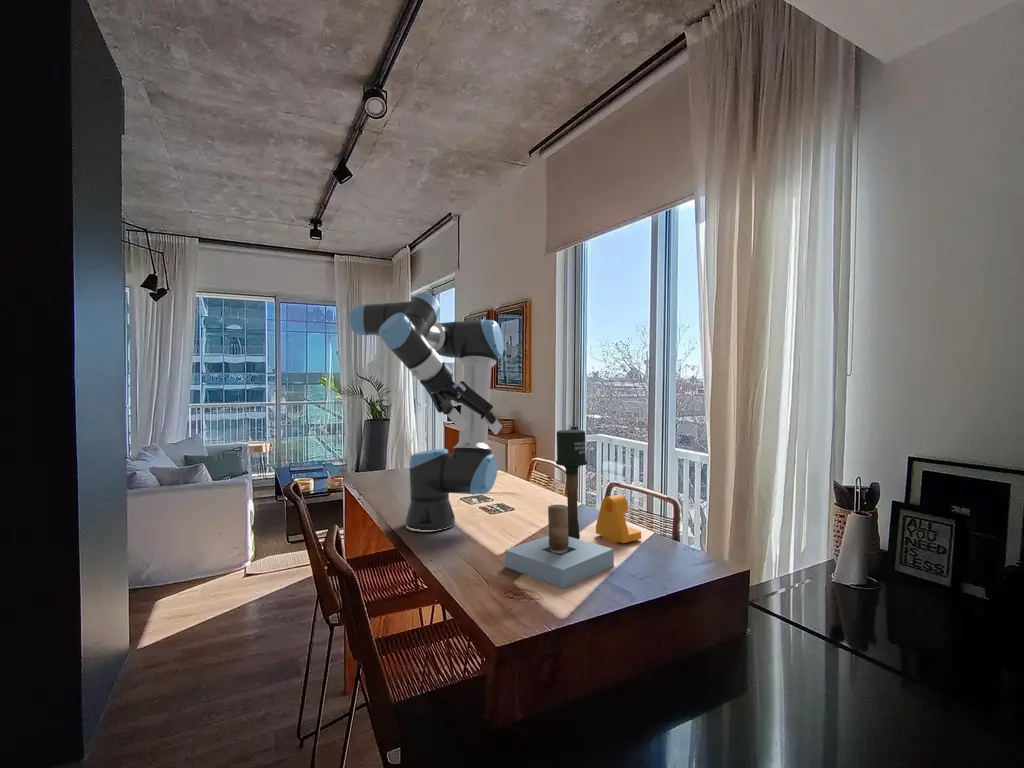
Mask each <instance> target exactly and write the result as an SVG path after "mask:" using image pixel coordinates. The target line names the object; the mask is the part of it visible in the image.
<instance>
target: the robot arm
mask: <svg viewBox="0 0 1024 768" xmlns="http://www.w3.org/2000/svg"><path fill="white" fill-rule="evenodd" d="M440 312H441V305H440V302H439V301H438V300H437V299H436V297H434V296H433V295H432V294H429V293H427V292H420V293H419V292H418V293H417V294H415V295H414V296H413V297H412V298H411V299H410V301H409V300H408V301H399V302H398V301H396V302H389V303H387V302H386V303H371V304H370V303H369V304H367V303H365V304H361V305H355V306H354V307H352V308H351V310H350V312H349V320H348V322H349V326H350V328H351V330H352V332H353V333H354V334H356V335H359V336H373V335H374V336H378V337H380V338H381V339H382V341H383V343H385V344H386V347H387V348H388V349H390V351H391V352H392V353H393V354H394V355H395V356H396V357H397V358H398V359H399V360H400V361H401V363H403V364H404V366H405V367H406V368H407V369H408V370H409V371H410V373H411V376H412V377H414V378H416V379H417V380H418V381H419V383H420V384H421V385H422V386H423V387H424V389H425V391H426V393H428V394H429V396H430V398H431V400H432V402H433V405H434V407H435V409H436V411H437V412H438V413H440V414H441V413H442V414H444V415H445V416H447V417H448V419H450V421H451V422H452V423H454V425H455V426H456V428H457V429H459V435H458V442H457V443H456V445H455V446H453V451H452V453H451V454H450V453H449V450H448V449H447V448H437V449H431V450H430V449H429V450H424V451H419V452H416V453H413V454H412V455H410V460H409V468H408V469H409V483H410V484H409V485H410V486H409V488H410V490H409V492H410V501H409V505H408V509H407V513H406V517H405V520H404V525H405V524H406V525H407V526H408V527H410V528H414V529H420V530H438V529H444V528H447V527H450V526H452V525H454V524H455V525H456V517H455V514H454V510H453V507H452V505H451V502H450V496H449V495H450V494H461V495H463V494H464V495H472V496H475V495H485V494H488V493H489V492H491V491H492V489H493V487H494V484H495V482H496V480H497V479H496V478H497V475H498V468H499V467H498V466H499V465H498V460H497V459H498V458H497V457H496V456H495V455H494V454H492V448H491V447H490V446H489V445H488V436H489V435H488V432H489V431H488V430H489V429H490V431H491V432H492V433H493V434H494V435H498V434H499V432H500V431H501V430H502V428H503V425H502V424H501V423H500V422H499V420H498V419H497V418H496V417H495V415H494V414H493V413H492V412H491V411H492V410H493V408H494V406H493V404H491V403H490V399H491V398H490V396H491V381H492V380H491V379H492V378H491V377H492V368H493V367H494V366H495V365H496V364H497V358H499V357H502V356H503V354H504V350H505V349H504V348H505V347H504V346H505V345H504V338H503V333H502V330H501V327H500V326H499V324H498V322H497V321H495V320H493V319H479V320H466V321H465V320H462V321H449V322H437V319H438V316H439V315H440ZM443 357H445V358H454V359H456V358H458V359H459V362H460V363H461V365H462V366H463V377H462V378H463V379H462V380H461V381H460V382H459V383H457V382H455V381H454V380H453V373H454V372H453V370H452V369H451V368H450V367H449V366H448V365H447V363H446V362H444V361H443V359H442V358H443ZM451 401H454V402H456V403H458V404H461V408H460V412H459V411H458V410H457V409H456V408H455V407H453V406H454V405H453V404H452V402H451ZM455 525H454V526H455Z"/></svg>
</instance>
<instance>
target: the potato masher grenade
mask: <svg viewBox="0 0 1024 768" xmlns="http://www.w3.org/2000/svg"><path fill="white" fill-rule="evenodd" d="M586 445H587V444H586V431H585V430H582V429H561V430H557V431H556V459H557V460H555V464H556V465H557V466H561V467H564V468H565V482H566V483H565V485H566V491H567V493H566V494H567V495H566V496H567V499H566V500H567V501H566V502H567V507H568V536H569V537H572V538H576V539H579V540H580V538H581V535H580V534H581V533H580V524H579V519H578V516H579V515H578V513H579V511H578V485H579V484H578V483H579V481H578V480H579V479H578V478H579V477H578V476H579V475H578V473H579V468H580V467H581V466H586V465H588V461H587V452H586V451H587V450H586Z"/></svg>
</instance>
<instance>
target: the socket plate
mask: <svg viewBox="0 0 1024 768" xmlns="http://www.w3.org/2000/svg"><path fill="white" fill-rule="evenodd" d="M568 542H569V546H568V547H567V553H566V554H564V555H561V556H560V555H557V554H554V553H551V547H550V546H549V535H547V536H544V537H543V536H542V537H540V538H537V539H535V540H531V541H527V542H525V543H522V544H519V545H516V546H513V547H510V548H508V549H505V551H504V553H505V568H508V569H510V570H512V571H513V570H514V571H516V572H519V573H521V574H524V575H525V576H528V577H532V578H534V579H537V580H540V581H543V582H545V583H547V584H550V585H552V586H555V587H558V588H560V589H563V590H565V589H566V588H568V587H570V586H572V585H575V584H577V583H579V582H582V581H584V580H586V579H589V578H590V577H592V576H596V575H597V574H599V573H601V572H603V571H606V570H608V569H611V568H612V567H614V566H615V554H614V548H611V547H608V546H604V545H600V544H597V543H593V542H589V541H587V540H582V539H580V538H579V539H576V538H572V537H569V536H568Z"/></svg>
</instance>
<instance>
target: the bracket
mask: <svg viewBox="0 0 1024 768" xmlns="http://www.w3.org/2000/svg"><path fill="white" fill-rule="evenodd" d="M628 509H629V504H628V499H626V497H625V496H624V495H622V494H616V495H610V496H605V497H603V499H602V501H601V504H600V509H599V513H598V516H597V520H596V525H595V534H597V535H600V536H601V539H603V540H606V541H608V542H612V543H614V544H617V545H618V544H620V543H622V544H626V543H630V542H634V541H637V540H642V531H641V530H639V529H636V528H633V527H630V526H628V525H627V522H626V518H625V514H627V512H628Z"/></svg>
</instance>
